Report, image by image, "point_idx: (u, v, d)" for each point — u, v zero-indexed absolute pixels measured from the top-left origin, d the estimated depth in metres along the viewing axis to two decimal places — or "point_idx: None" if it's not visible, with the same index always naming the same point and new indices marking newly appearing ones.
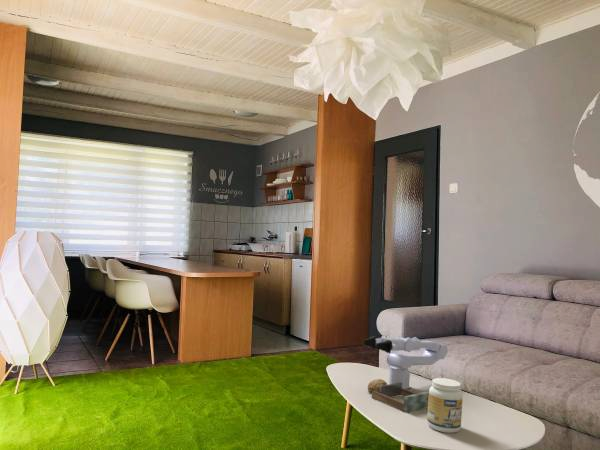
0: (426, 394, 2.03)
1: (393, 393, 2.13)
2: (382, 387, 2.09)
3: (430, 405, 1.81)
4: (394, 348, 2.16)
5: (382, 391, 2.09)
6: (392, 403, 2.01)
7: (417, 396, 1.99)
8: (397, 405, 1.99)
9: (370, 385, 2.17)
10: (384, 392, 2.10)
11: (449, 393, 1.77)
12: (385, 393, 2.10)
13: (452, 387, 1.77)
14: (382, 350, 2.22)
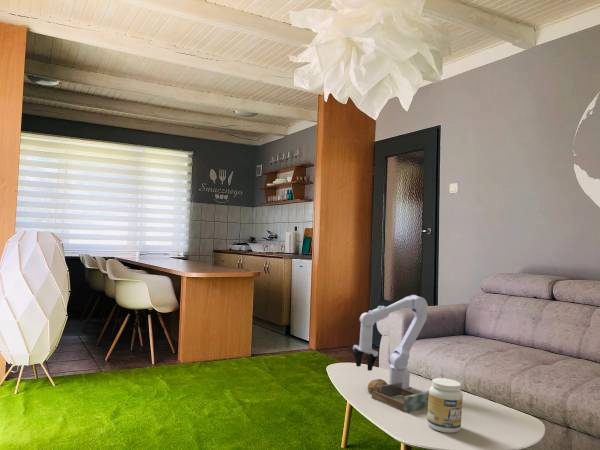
0: (426, 394, 2.03)
1: (393, 393, 2.13)
2: (382, 387, 2.09)
3: (430, 405, 1.81)
4: (376, 354, 2.21)
5: (382, 391, 2.09)
6: (392, 403, 2.01)
7: (417, 396, 1.99)
8: (397, 405, 1.99)
9: (370, 385, 2.17)
10: (384, 392, 2.10)
11: (449, 393, 1.77)
12: (385, 393, 2.10)
13: (452, 387, 1.77)
14: None
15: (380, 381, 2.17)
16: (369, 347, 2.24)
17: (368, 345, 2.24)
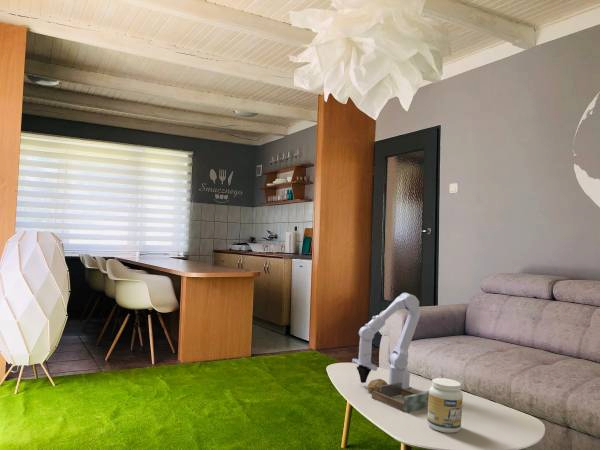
0: (426, 394, 2.03)
1: (393, 393, 2.13)
2: (382, 387, 2.09)
3: (430, 405, 1.81)
4: (376, 369, 2.21)
5: (382, 391, 2.09)
6: (392, 403, 2.01)
7: (417, 396, 1.99)
8: (397, 405, 1.99)
9: (370, 385, 2.17)
10: (384, 392, 2.10)
11: (449, 393, 1.77)
12: (385, 393, 2.10)
13: (452, 387, 1.77)
14: None
15: (380, 381, 2.17)
16: (368, 361, 2.24)
17: (367, 359, 2.24)
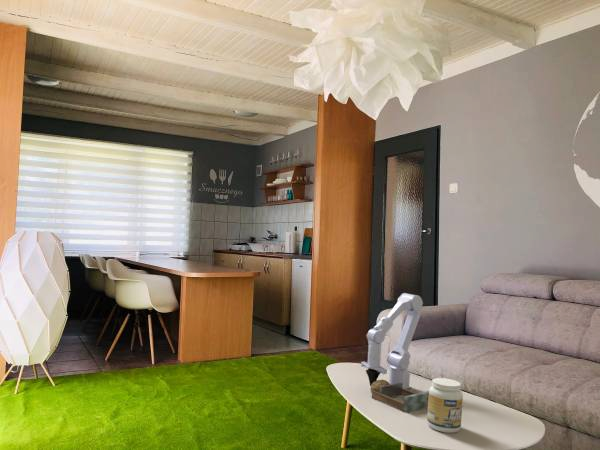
0: (426, 394, 2.03)
1: (394, 393, 2.13)
2: (383, 387, 2.09)
3: (430, 405, 1.81)
4: (385, 372, 2.16)
5: (383, 391, 2.09)
6: (392, 403, 2.01)
7: (417, 396, 1.99)
8: (397, 405, 1.99)
9: (373, 386, 2.16)
10: (384, 392, 2.09)
11: (449, 393, 1.77)
12: (386, 393, 2.10)
13: (452, 387, 1.77)
14: None
15: (383, 382, 2.15)
16: (378, 364, 2.19)
17: (376, 362, 2.19)
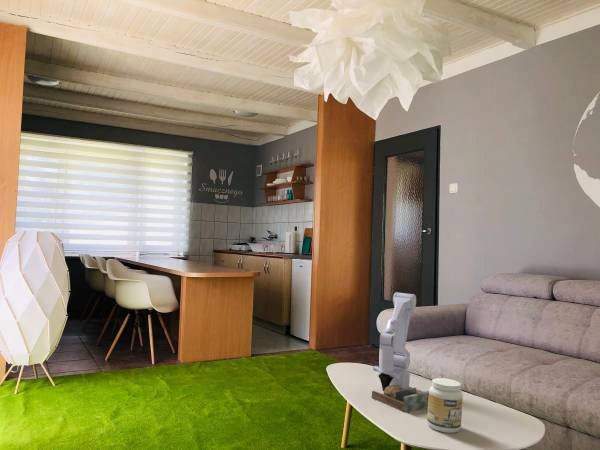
0: (426, 394, 2.03)
1: None
2: (396, 393, 2.02)
3: (430, 405, 1.81)
4: (399, 377, 2.10)
5: (396, 397, 2.03)
6: (392, 403, 2.01)
7: (417, 396, 1.99)
8: (397, 405, 1.99)
9: (386, 391, 2.09)
10: (398, 398, 2.03)
11: (449, 393, 1.77)
12: (399, 399, 2.04)
13: (452, 387, 1.77)
14: None
15: (396, 387, 2.09)
16: (391, 369, 2.13)
17: (390, 367, 2.13)
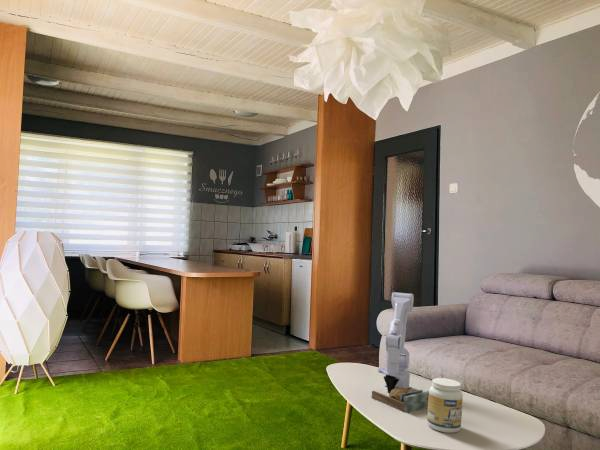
0: (426, 394, 2.03)
1: None
2: (403, 395, 2.00)
3: (430, 405, 1.81)
4: (404, 379, 2.07)
5: (403, 399, 2.00)
6: (392, 403, 2.01)
7: (417, 396, 1.99)
8: (397, 405, 1.99)
9: (392, 393, 2.07)
10: None
11: (449, 393, 1.77)
12: None
13: (452, 387, 1.77)
14: None
15: (402, 389, 2.06)
16: (396, 371, 2.11)
17: (395, 369, 2.10)
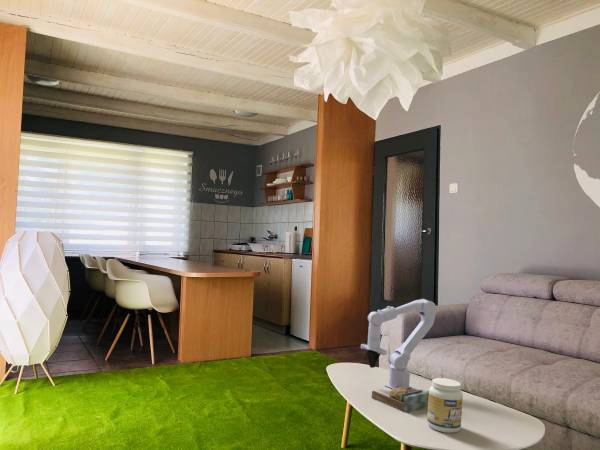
0: (426, 394, 2.03)
1: None
2: (403, 395, 2.00)
3: (430, 405, 1.81)
4: (385, 353, 2.22)
5: (403, 399, 2.00)
6: (392, 403, 2.01)
7: (417, 396, 1.99)
8: (397, 405, 1.99)
9: (392, 393, 2.07)
10: None
11: (449, 393, 1.77)
12: None
13: (452, 387, 1.77)
14: None
15: (402, 389, 2.07)
16: (377, 346, 2.25)
17: (376, 344, 2.25)
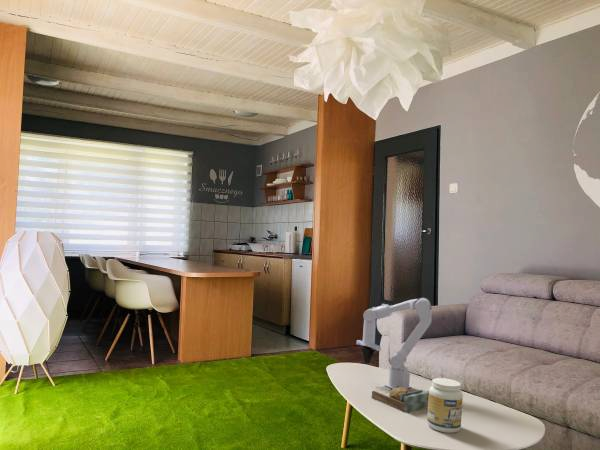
0: (426, 394, 2.03)
1: None
2: (403, 395, 2.00)
3: (430, 405, 1.81)
4: (379, 349, 2.28)
5: (403, 399, 2.00)
6: (392, 403, 2.01)
7: (417, 396, 1.99)
8: (397, 405, 1.99)
9: (392, 393, 2.07)
10: None
11: (449, 393, 1.77)
12: None
13: (452, 387, 1.77)
14: None
15: (402, 389, 2.07)
16: (372, 342, 2.31)
17: (371, 340, 2.31)
